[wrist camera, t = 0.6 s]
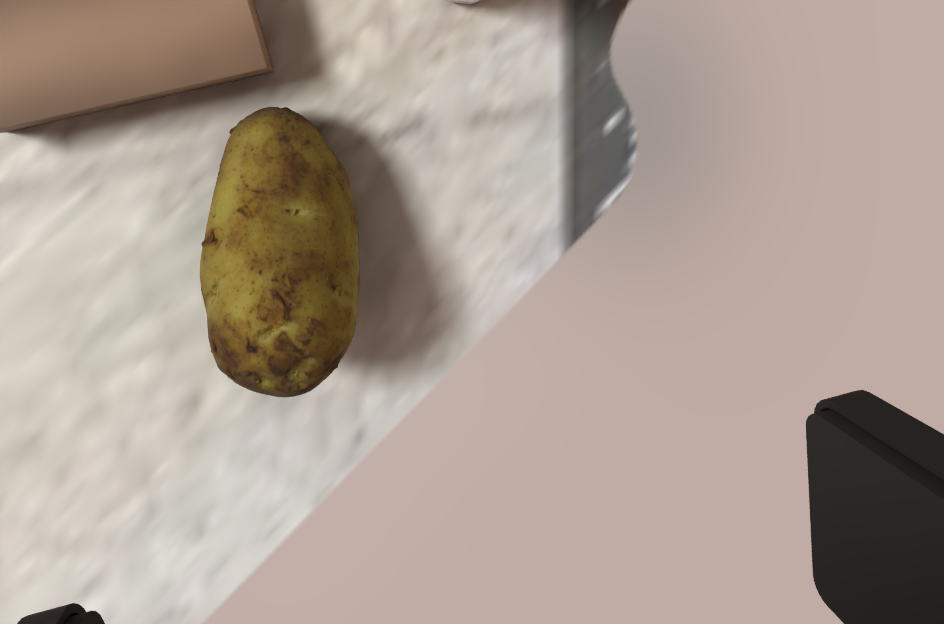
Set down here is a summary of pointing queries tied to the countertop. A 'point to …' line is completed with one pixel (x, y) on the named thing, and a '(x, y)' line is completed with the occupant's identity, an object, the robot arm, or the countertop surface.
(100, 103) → the walnut plinth
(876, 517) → the robot arm
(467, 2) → the bottle
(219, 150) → the countertop surface
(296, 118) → the potato
